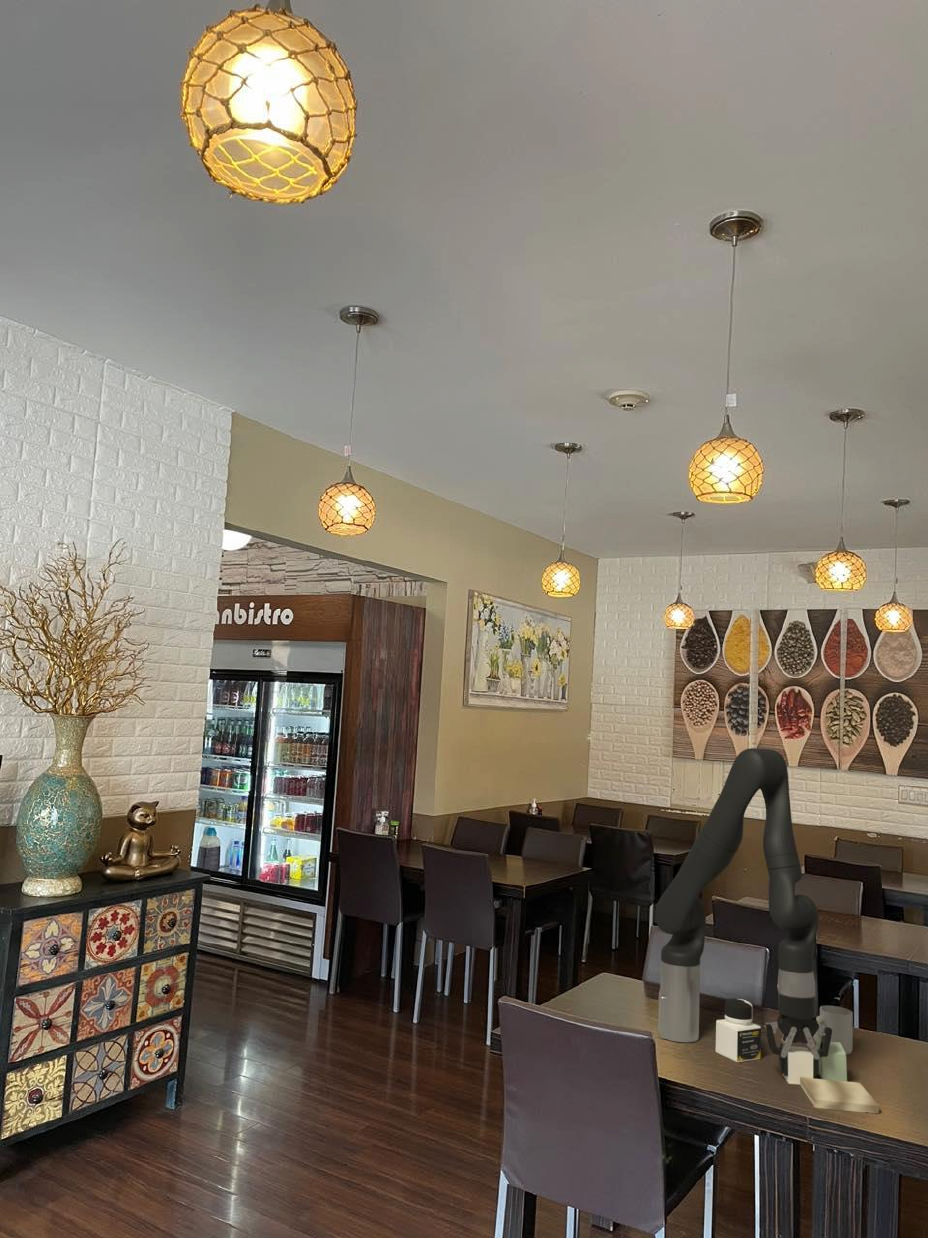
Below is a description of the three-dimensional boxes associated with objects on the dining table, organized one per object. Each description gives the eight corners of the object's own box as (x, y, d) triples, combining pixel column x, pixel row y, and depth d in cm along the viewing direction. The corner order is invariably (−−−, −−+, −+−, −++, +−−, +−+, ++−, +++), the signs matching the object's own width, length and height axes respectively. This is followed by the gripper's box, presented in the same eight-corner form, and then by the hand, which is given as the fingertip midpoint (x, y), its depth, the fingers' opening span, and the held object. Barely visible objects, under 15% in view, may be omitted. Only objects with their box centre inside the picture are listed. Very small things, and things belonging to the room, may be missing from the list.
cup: (859, 1054, 215) (859, 1014, 216) (822, 1056, 213) (823, 1016, 214) (838, 1044, 222) (838, 1005, 223) (802, 1046, 219) (803, 1006, 220)
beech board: (815, 1108, 182) (815, 1100, 182) (800, 1085, 194) (800, 1077, 194) (878, 1114, 181) (878, 1105, 181) (859, 1090, 193) (859, 1083, 193)
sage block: (822, 1081, 197) (821, 1054, 197) (816, 1069, 202) (815, 1042, 202) (847, 1082, 196) (846, 1054, 196) (840, 1069, 201) (839, 1042, 201)
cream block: (788, 1083, 195) (788, 1053, 195) (782, 1074, 200) (782, 1045, 200) (813, 1085, 194) (813, 1055, 195) (806, 1076, 199) (806, 1047, 200)
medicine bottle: (737, 1063, 205) (738, 1007, 207) (714, 1052, 212) (715, 998, 213) (761, 1059, 209) (762, 1004, 210) (738, 1049, 215) (739, 995, 216)
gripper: (765, 994, 196) (768, 1080, 193) (836, 998, 194) (839, 1084, 191) (758, 986, 203) (760, 1068, 200) (826, 989, 201) (829, 1072, 199)
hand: (799, 1075), depth 196 cm, fingers closed on cream block, 5 cm apart
